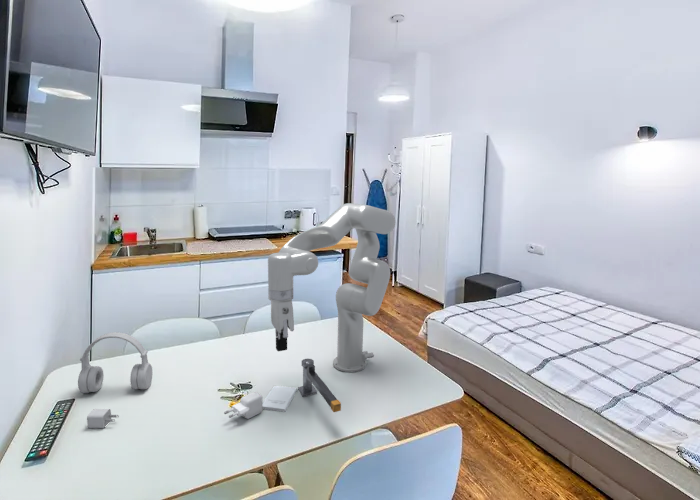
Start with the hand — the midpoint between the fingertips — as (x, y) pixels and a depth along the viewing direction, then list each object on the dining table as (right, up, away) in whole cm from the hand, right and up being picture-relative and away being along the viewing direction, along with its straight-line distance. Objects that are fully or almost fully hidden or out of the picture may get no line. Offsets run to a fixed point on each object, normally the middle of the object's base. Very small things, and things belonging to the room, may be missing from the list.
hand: (281, 349), depth 127 cm
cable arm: (+12, -11, -3) cm, 17 cm away
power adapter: (-10, -19, -7) cm, 22 cm away
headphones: (-55, -15, +6) cm, 57 cm away
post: (+7, -16, +8) cm, 19 cm away
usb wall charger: (-48, -19, -12) cm, 53 cm away
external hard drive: (-1, -17, +3) cm, 18 cm away
